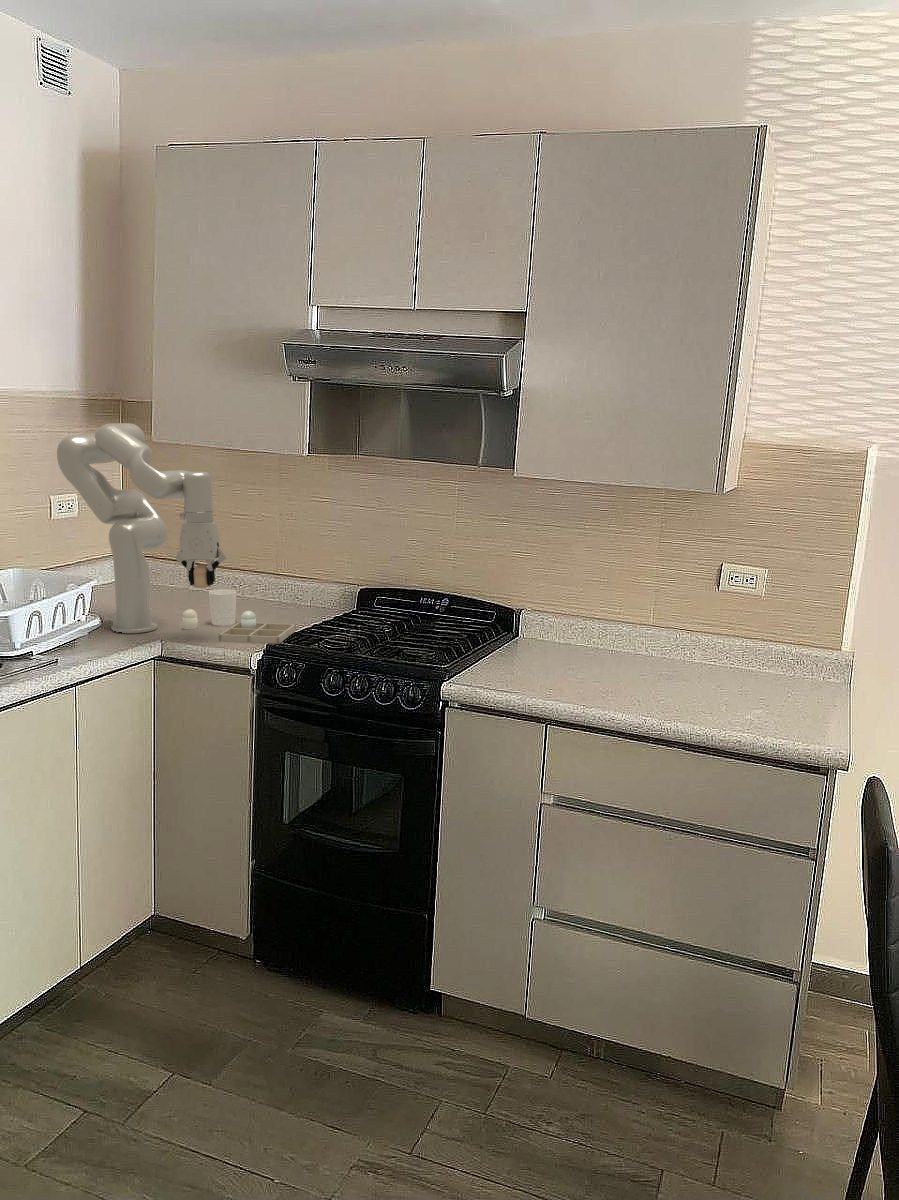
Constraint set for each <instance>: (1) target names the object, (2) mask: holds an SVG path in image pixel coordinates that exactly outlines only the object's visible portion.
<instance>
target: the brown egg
mask: <svg viewBox="0 0 899 1200" xmlns="http://www.w3.org/2000/svg"><path fill="white" fill-rule="evenodd" d="M207 571H208V566H207V565H205V564H200V563H199V564H197V565H195V566H194V571H193V575H194V585H193V587H194V588H195V589H197V588H199V589H203V588H204V589H205V588H209V587H210V586H211V585H210V586H208V585H207Z"/></svg>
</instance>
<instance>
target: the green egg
mask: <svg viewBox="0 0 899 1200" xmlns="http://www.w3.org/2000/svg"><path fill="white" fill-rule="evenodd" d="M240 622H241V628H243V629H256V623H257V616H256V614H255V612H253V611H251V610H246V611H243V613H242V614H241V616H240Z"/></svg>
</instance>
